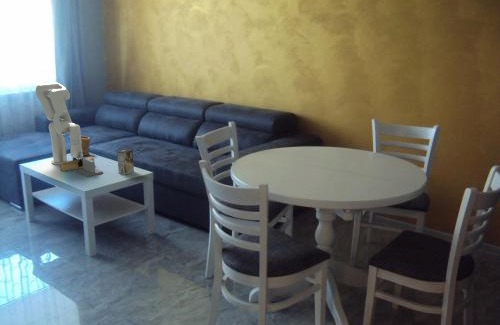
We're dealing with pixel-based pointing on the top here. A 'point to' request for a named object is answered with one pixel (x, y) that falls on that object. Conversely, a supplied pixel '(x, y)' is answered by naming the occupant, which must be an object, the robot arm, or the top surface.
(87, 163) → the ridge stand
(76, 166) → the oak batten
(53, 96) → the robot arm
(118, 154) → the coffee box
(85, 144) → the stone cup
